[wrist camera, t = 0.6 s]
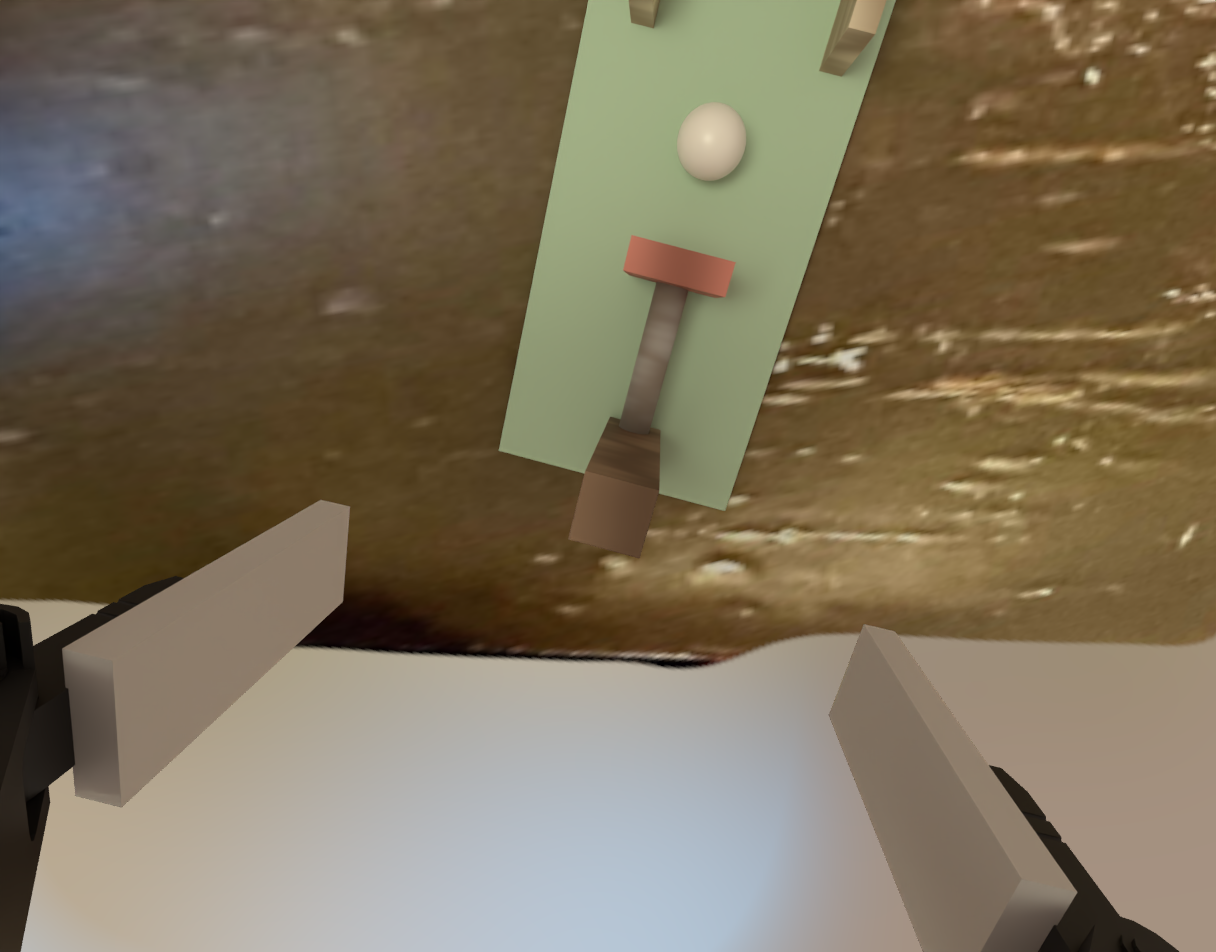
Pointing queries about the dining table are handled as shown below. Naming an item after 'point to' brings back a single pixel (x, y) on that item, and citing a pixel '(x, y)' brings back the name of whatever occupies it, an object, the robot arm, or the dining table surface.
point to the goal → (846, 38)
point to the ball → (711, 141)
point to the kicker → (642, 402)
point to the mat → (680, 226)
